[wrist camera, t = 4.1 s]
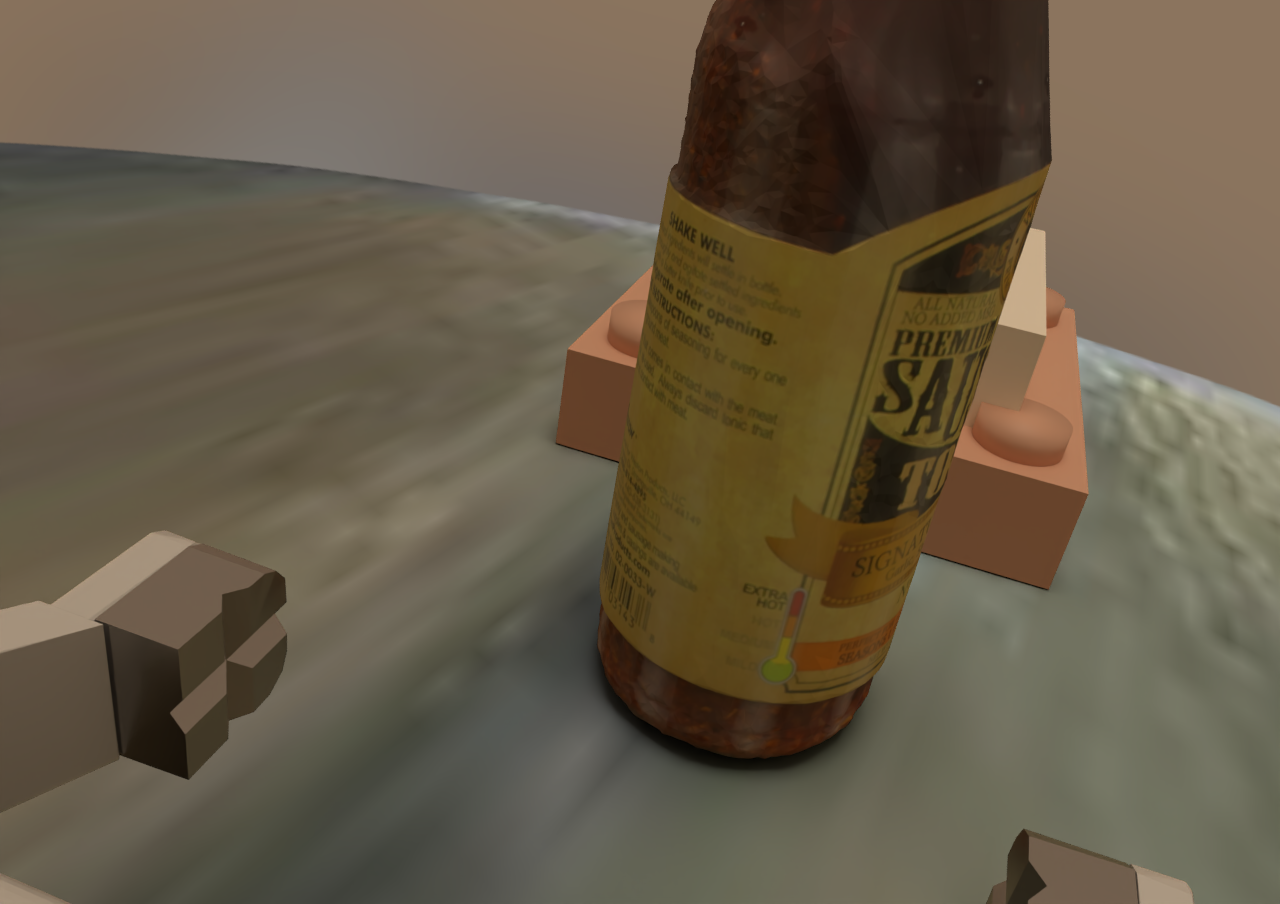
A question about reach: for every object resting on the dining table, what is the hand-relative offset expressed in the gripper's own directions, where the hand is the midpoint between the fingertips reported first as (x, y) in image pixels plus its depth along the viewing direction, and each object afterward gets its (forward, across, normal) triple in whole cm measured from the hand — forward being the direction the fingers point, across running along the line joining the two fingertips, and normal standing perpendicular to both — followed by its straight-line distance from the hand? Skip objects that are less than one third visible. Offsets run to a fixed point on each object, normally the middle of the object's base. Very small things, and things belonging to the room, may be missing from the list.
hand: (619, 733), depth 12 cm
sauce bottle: (+11, 0, +8) cm, 13 cm away
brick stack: (+25, 0, +8) cm, 26 cm away
